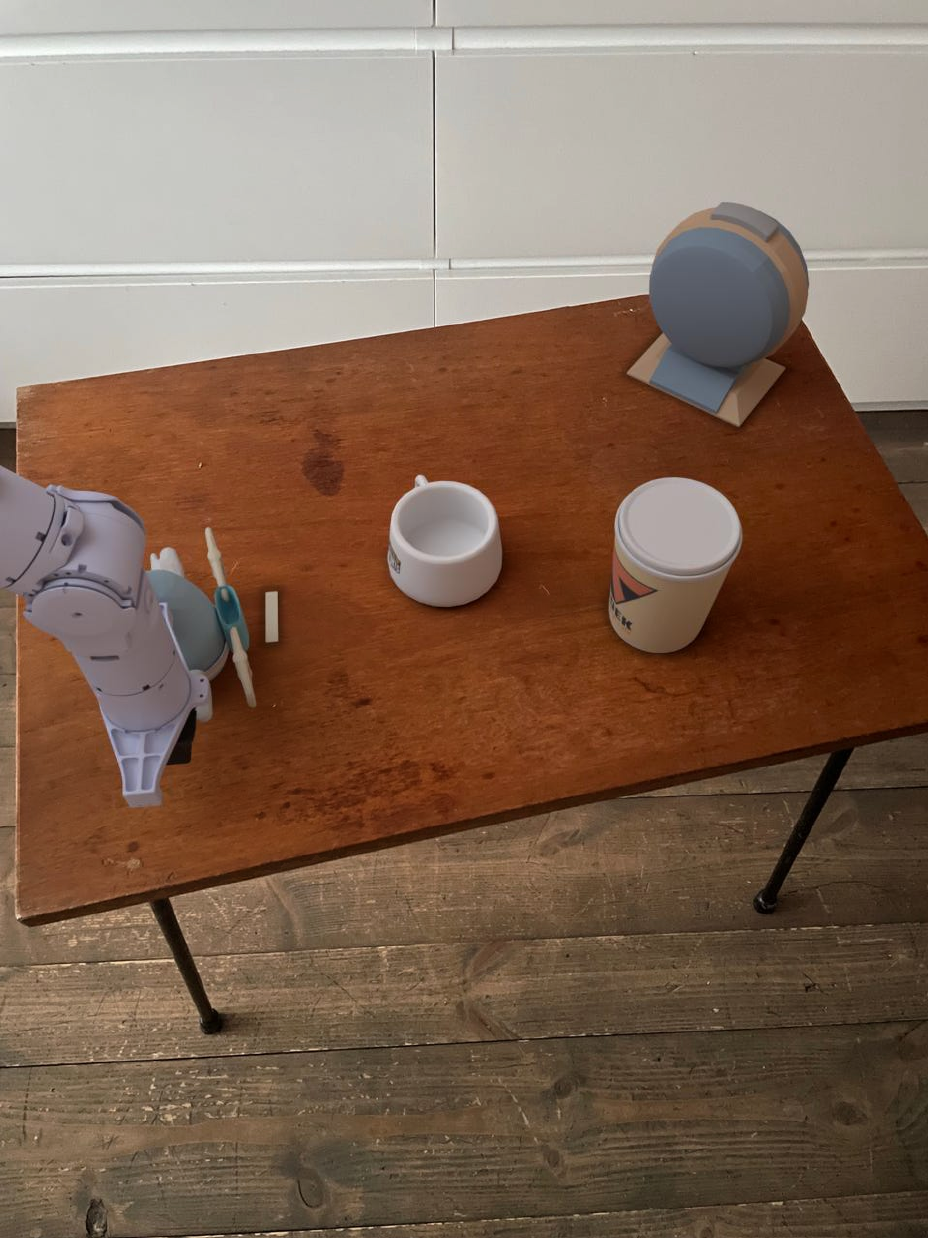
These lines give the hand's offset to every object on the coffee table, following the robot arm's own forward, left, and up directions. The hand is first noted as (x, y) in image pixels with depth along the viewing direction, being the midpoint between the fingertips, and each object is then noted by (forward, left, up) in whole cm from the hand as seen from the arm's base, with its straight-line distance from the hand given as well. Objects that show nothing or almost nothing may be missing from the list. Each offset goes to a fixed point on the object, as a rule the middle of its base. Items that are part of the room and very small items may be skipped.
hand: (176, 757), depth 77 cm
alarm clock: (+49, +38, -3) cm, 62 cm away
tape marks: (0, +13, -2) cm, 14 cm away
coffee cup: (+38, +10, -3) cm, 40 cm away
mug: (+21, +18, -3) cm, 28 cm away
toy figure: (0, +9, -3) cm, 10 cm away
